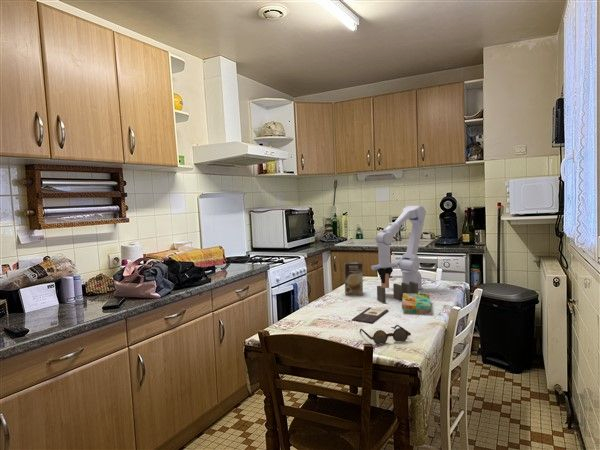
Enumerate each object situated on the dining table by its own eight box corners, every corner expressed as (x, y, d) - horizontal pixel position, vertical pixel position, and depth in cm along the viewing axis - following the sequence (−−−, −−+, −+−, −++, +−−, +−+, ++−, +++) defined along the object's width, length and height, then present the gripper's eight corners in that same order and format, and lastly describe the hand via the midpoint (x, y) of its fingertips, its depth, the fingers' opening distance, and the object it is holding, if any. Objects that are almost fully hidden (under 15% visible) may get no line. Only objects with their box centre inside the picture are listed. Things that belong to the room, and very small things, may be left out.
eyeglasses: (371, 346, 133) (370, 332, 133) (357, 331, 148) (356, 318, 147) (411, 342, 136) (410, 328, 135) (393, 327, 150) (393, 315, 150)
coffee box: (345, 295, 199) (344, 263, 198) (344, 291, 206) (344, 261, 204) (363, 294, 198) (362, 263, 197) (362, 291, 205) (361, 261, 203)
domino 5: (412, 295, 194) (412, 281, 193) (418, 297, 189) (418, 283, 188) (409, 295, 193) (409, 281, 193) (415, 298, 189) (415, 283, 188)
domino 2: (380, 299, 188) (379, 285, 188) (385, 302, 183) (385, 287, 183) (377, 300, 188) (376, 285, 187) (382, 302, 183) (382, 288, 182)
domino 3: (396, 297, 191) (396, 283, 190) (402, 299, 186) (401, 285, 186) (393, 297, 190) (393, 283, 190) (399, 300, 186) (399, 285, 185)
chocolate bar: (351, 319, 160) (369, 307, 175) (351, 321, 160) (369, 309, 175) (372, 322, 155) (388, 310, 170) (372, 324, 155) (388, 312, 170)
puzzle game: (401, 303, 166) (403, 291, 185) (402, 313, 166) (403, 300, 185) (430, 304, 163) (429, 292, 182) (431, 315, 163) (429, 301, 182)
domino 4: (404, 296, 192) (404, 282, 192) (410, 298, 188) (410, 284, 187) (401, 296, 192) (401, 282, 191) (407, 299, 187) (407, 284, 187)
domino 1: (383, 285, 200) (383, 272, 199) (389, 287, 195) (388, 274, 195) (381, 286, 199) (380, 272, 199) (386, 288, 195) (386, 274, 194)
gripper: (375, 258, 190) (376, 286, 191) (401, 255, 194) (401, 282, 196) (368, 256, 197) (369, 283, 198) (393, 253, 201) (394, 279, 202)
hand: (385, 282), depth 197 cm, fingers closed on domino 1, 1 cm apart
